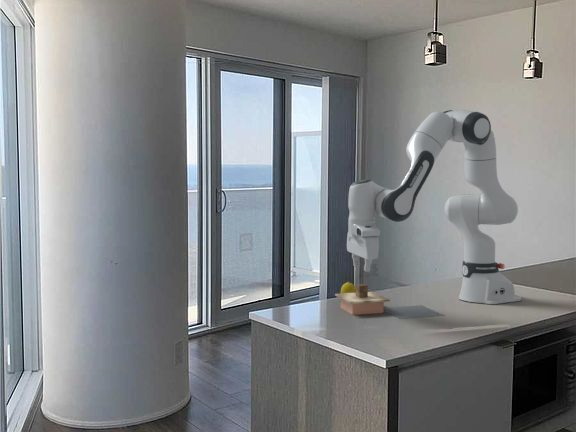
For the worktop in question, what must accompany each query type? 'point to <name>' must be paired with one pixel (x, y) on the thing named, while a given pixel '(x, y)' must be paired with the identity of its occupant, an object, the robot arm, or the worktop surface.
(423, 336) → the worktop surface
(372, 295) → the lid
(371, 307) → the salmon open box
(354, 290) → the lemon
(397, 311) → the mat
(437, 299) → the worktop surface
